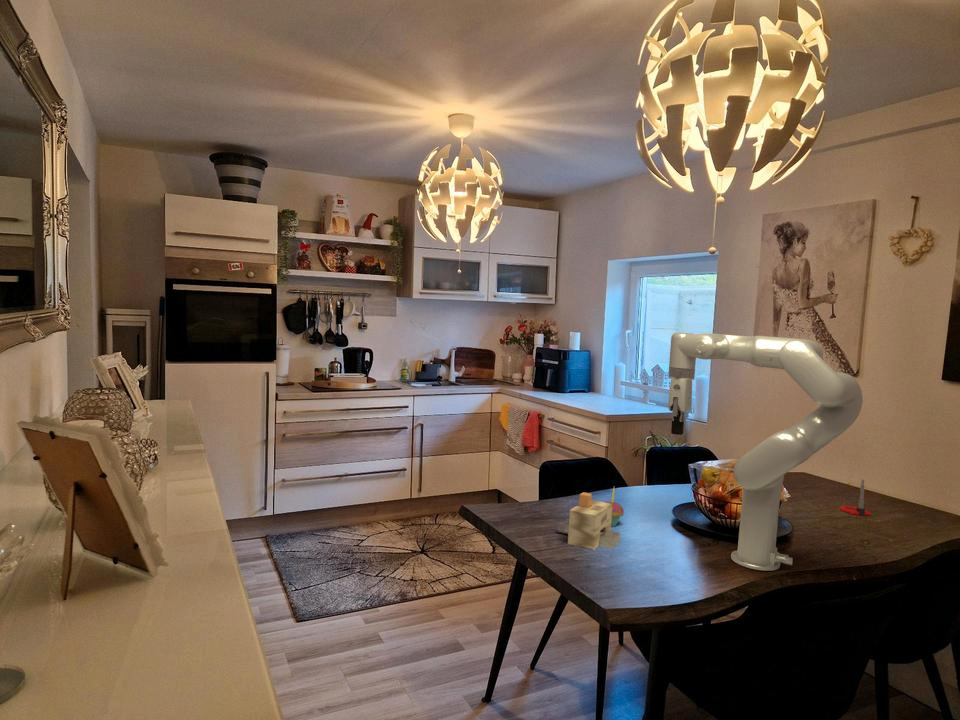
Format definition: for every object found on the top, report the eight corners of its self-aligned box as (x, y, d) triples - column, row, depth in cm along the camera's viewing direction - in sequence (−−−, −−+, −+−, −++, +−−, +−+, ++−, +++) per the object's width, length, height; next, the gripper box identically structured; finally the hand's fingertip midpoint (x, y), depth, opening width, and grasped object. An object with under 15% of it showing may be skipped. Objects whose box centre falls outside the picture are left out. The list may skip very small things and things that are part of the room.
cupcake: (601, 517, 208) (604, 482, 207) (626, 523, 204) (629, 487, 203) (592, 524, 201) (594, 487, 200) (618, 530, 196) (620, 492, 195)
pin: (619, 543, 186) (620, 533, 185) (613, 549, 181) (613, 538, 180) (563, 529, 195) (563, 520, 194) (555, 535, 190) (556, 525, 189)
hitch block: (610, 536, 191) (612, 504, 190) (593, 550, 179) (596, 515, 178) (585, 530, 195) (587, 498, 194) (567, 543, 183) (569, 510, 182)
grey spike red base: (834, 508, 234) (850, 515, 225) (837, 474, 234) (852, 479, 225) (856, 509, 235) (873, 516, 225) (859, 475, 234) (875, 480, 225)
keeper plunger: (590, 516, 188) (592, 494, 187) (587, 519, 185) (588, 496, 185) (581, 515, 189) (583, 492, 189) (578, 517, 187) (579, 494, 186)
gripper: (688, 376, 180) (684, 439, 182) (699, 373, 193) (695, 432, 195) (662, 374, 184) (658, 435, 186) (674, 371, 197) (670, 429, 198)
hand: (677, 433), depth 190 cm, fingers closed
